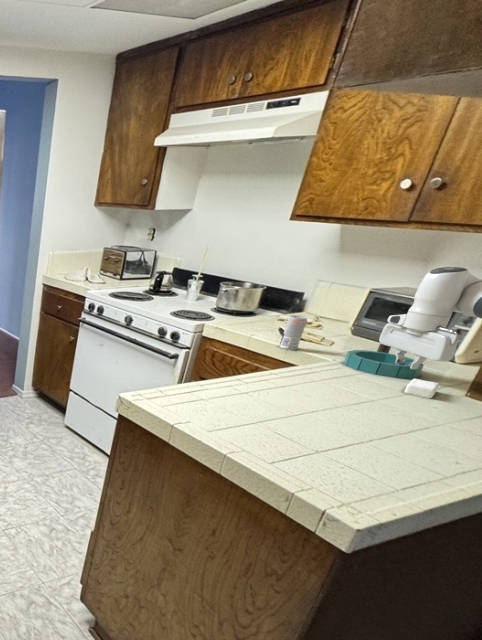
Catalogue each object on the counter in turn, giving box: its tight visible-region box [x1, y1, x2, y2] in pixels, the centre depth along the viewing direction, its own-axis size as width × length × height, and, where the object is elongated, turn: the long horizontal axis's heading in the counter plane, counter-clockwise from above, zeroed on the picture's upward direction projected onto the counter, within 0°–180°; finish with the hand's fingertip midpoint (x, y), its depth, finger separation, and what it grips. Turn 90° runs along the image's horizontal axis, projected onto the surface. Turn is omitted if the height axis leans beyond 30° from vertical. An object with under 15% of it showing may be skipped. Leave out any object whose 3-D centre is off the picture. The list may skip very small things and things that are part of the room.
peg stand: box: [376, 343, 392, 353], centre depth 165 cm, size 7×7×6 cm
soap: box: [404, 378, 440, 399], centre depth 133 cm, size 9×6×3 cm, turn 127°
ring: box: [343, 349, 425, 379], centre depth 153 cm, size 17×17×4 cm
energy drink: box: [278, 315, 308, 351], centre depth 173 cm, size 5×5×12 cm
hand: (405, 366), depth 145 cm, fingers open, 3 cm apart
